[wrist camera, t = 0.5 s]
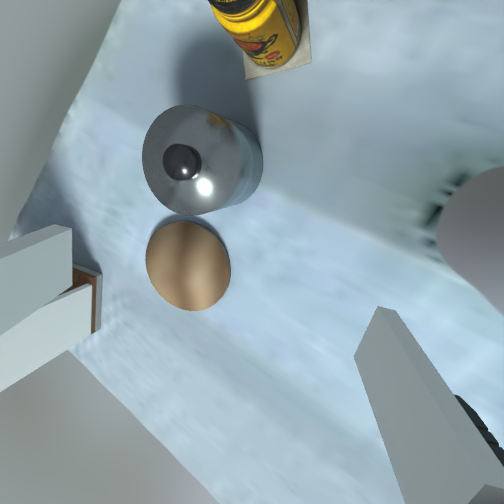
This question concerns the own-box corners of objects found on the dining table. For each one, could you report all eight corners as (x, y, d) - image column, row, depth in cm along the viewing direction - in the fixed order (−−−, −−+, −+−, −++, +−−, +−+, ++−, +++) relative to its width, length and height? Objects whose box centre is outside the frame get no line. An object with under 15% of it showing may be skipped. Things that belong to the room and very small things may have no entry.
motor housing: (261, 117, 32) (225, 93, 23) (264, 205, 35) (232, 218, 25) (184, 125, 35) (124, 107, 26) (192, 206, 38) (139, 217, 28)
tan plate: (227, 221, 37) (224, 222, 36) (233, 312, 40) (230, 315, 39) (144, 220, 41) (139, 221, 40) (155, 303, 44) (151, 306, 43)
